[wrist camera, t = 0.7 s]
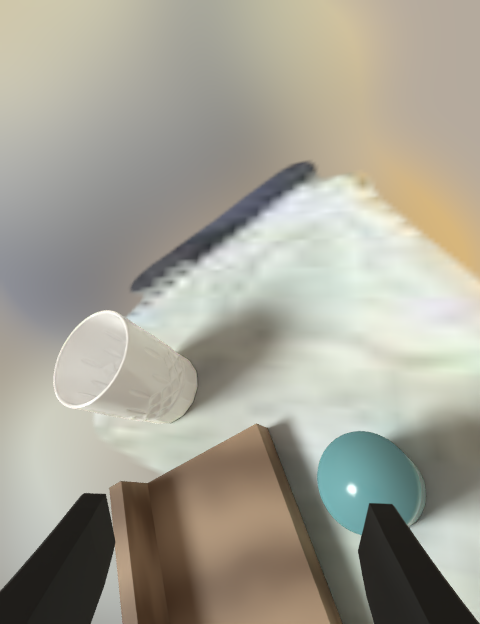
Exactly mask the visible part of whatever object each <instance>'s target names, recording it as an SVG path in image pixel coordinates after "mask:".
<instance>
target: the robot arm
mask: <svg viewBox="0 0 480 624" xmlns="http://www.w3.org/2000/svg"><path fill="white" fill-rule="evenodd" d="M115 543H116V541H115V537H114V532H113V527H112V522H111V517H110V513H109V507H108V503H107V498H106V494H90V493H84V494H83V495H81V496H80V498H79V499H78V500H77V501H76V502H75V504H74V505H73V506H72V507H71V509H70V510H69V511H68V512H67V514H66V515H65V516H64V517H63V519H62V520H61V521H60V523H59V524H58V525H57V526H56V527H55V529H54V530H53V531H52V532H51V533H50V534H49V536H48V537H47V538H46V539H45V540H44V542H43V543H42V544H41V545H40V546H39V548H38V549H37V550H36V551H35V552H34V553H33V555H32V556H31V557H30V558H29V559H28V560H27V561H26V563H25V564H24V565H23V566H22V567H21V569H20V570H19V571H18V572H17V573H16V574H15V575H14V576H13V578H12V579H11V580H10V581H9V582H8V583H7V584H6V585H5V586H4V588H3V589H2V590H1V591H0V624H91V621H92V618H93V615H94V613H95V610H96V607H97V604H98V602H99V599H100V596H101V593H102V590H103V588H104V585H105V581H106V577H107V573H108V569H109V566H110V562H111V558H112V555H113V551H114V547H115ZM358 554H359V559H360V565H361V570H362V576H363V581H364V586H365V591H366V596H367V599H368V603H369V607H370V610H371V614H372V617H373V621H374V624H479V622H478V621H477V620H476V618H475V617H474V616H473V615H472V613H471V612H470V611H469V609H468V608H467V607H466V606H465V604H464V603H463V602H462V600H461V599H460V598H459V596H458V595H457V594H456V592H455V591H454V590H453V588H452V587H451V586H450V584H449V583H448V582H447V580H446V579H445V578H444V576H443V575H442V574H441V572H440V571H439V570H438V568H437V567H436V565H435V564H434V563H433V561H432V560H431V559H430V557H429V556H428V554H427V553H426V551H425V550H424V549H423V547H422V546H421V544H420V543H419V542H418V540H417V539H416V537H415V536H414V534H413V533H412V531H411V530H410V528H409V527H408V525H407V524H406V523H405V521H404V520H403V518H402V517H401V515H400V514H399V512H398V511H397V509H396V508H395V506H394V505H393V504H382V503H369V506H368V510H367V515H366V519H365V523H364V528H363V532H362V536H361V541H360V545H359V549H358Z"/></svg>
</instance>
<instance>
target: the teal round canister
mask: <svg viewBox="0 0 480 624" xmlns="http://www.w3.org/2000/svg"><path fill="white" fill-rule="evenodd" d="M317 481H318V488H319V492H320V496H321V498H322V501H323V503H324V505H325V507H326V508H327V510H328V512H329V513H330V514H331V515H332V517H333V518H334V519H335V520H336V521H337V522H338V523H339V524H341V525H342V526H343V527H345V528H346V529H348V530H350V531H352V532H354V533H356V534H360V535H362V532H363V528H364V523H365V519H366V515H367V510H368V506H369V503H382V504H393V505H394V506H395V508H396V509H397V511H398V512H399V514H400V515H401V517H402V518H403V520H404V521H405V523H406V524H407V525H408V527H409V526H411V525H412V524H413V523H415V522H416V521H417V520H418V518H419V517H420V515H421V514H422V512H423V510H424V506H425V502H426V488H425V483H424V480H423V477H422V475H421V473H420V471H419V469H418V468H417V467H416V465H415V464H414V463H413V462H412V460H410V459H409V458H408V457H407V456H406V455H405V454H404V453H403V452H402V451H401V450H400V449H399V448H398V447H397V446H396V445H394V444H393V443H392V442H391V441H389V440H388V439H386V438H384V437H382V436H380V435H378V434H375V433H371V432H365V431H356V432H350V433H346V434H344V435H342V436H340V437H338V438H336V439H335V440H334V441H333V442H331V443H330V445H329V446H328V447H327V448H326V450H325V451H324V453H323V455H322V457H321V459H320V462H319V466H318V473H317Z"/></svg>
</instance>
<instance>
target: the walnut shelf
mask: <svg viewBox="0 0 480 624" xmlns="http://www.w3.org/2000/svg"><path fill="white" fill-rule="evenodd" d="M109 489H110V499H111V509H112V520H113V530H114V537H115V541H116V543H115V551H116V559H117V560H116V561H117V571H118V581H119V592H120V602H121V612H122V623H123V624H343V623H342V621H341V618H340V616H339V613H338V610H337V608H336V605H335V603H334V600H333V597H332V595H331V592H330V590H329V587H328V584H327V582H326V579H325V577H324V574H323V571H322V569H321V566H320V564H319V561H318V558H317V556H316V553H315V551H314V548H313V545H312V543H311V540H310V538H309V535H308V532H307V530H306V527H305V525H304V522H303V519H302V517H301V514H300V512H299V509H298V506H297V504H296V501H295V499H294V496H293V493H292V491H291V488H290V486H289V483H288V480H287V478H286V475H285V473H284V470H283V467H282V465H281V462H280V460H279V457H278V454H277V452H276V449H275V447H274V444H273V441H272V439H271V436H270V434H269V431H268V428H266V427H263V426H261V425H259V424H255V425H253V426H251V427H249V428H248V429H246V430H244V431H242V432H240V433H238V434H237V435H235V436H233V437H231V438H229V439H227V440H226V441H224V442H222V443H220V444H218V445H216V446H215V447H213V448H211V449H209V450H207V451H206V452H204V453H202V454H200V455H198V456H196V457H195V458H193V459H191V460H189V461H187V462H185V463H184V464H182V465H180V466H178V467H176V468H175V469H173V470H171V471H169V472H167V473H165V474H164V475H162V476H160V477H158V478H156V479H154V480H153V481H151V482H149V483H137V482H125V481H121V482H119V483H117V484H115V485H113V486H112V487H110V488H109Z"/></svg>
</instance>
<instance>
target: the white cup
mask: <svg viewBox="0 0 480 624" xmlns="http://www.w3.org/2000/svg"><path fill="white" fill-rule="evenodd" d="M53 382H54V390H55V393H56V396H57V398H58V400H59V401H60V402H61V403H62V404H63V405H65V406H66V407H69V408H74V409H79V410H84V411H89V412H94V413H99V414H104V415H109V416H113V417H119V418H125V419H131V420H136V421H147V422H151V423H156V424H165V423H172V422H173V421H175V420H177V419H178V418H180V417H181V416H183V415H184V414H185V412H186V411H187V410H188V408H189V407H190V406H191V404H192V403H193V400H194V397H195V394H196V390H197V387H198V385H197V372H196V370H195V368H194V367H193V365H192V364H191V362H190V361H189V360H188V359H186V358H185V357H183V356H181V355H180V354H178V353H177V352H175V351H174V350H173V349H172V348H171V347H169V346H168V345H167V344H165V343H164V342H162V341H160V340H159V339H158V338H156V337H155V336H153V335H152V334H150V333H149V332H147V331H146V330H144V329H142V328H141V327H139V326H138V325H136V324H134V323H133V322H131V321H130V320H128V319H127V318H125V317H123V316H122V315H120V314H119V313H117V312H115V311H111V310H105V311H100V312H97V313H94V314H93V315H91V316H89V317H88V318H86V319H85V320H83V321H82V322H81V323H80V324H79V325H78V326H77V327H76V328H75V329H74V330H73V331H72V333H71V334H70V335H69V337H68V338H67V340H66V341H65V343H64V345H63V347H62V349H61V351H60V353H59V356H58V359H57V361H56V366H55V370H54V379H53Z"/></svg>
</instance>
